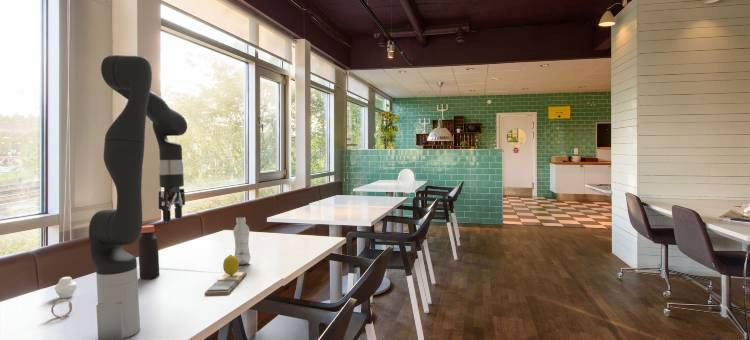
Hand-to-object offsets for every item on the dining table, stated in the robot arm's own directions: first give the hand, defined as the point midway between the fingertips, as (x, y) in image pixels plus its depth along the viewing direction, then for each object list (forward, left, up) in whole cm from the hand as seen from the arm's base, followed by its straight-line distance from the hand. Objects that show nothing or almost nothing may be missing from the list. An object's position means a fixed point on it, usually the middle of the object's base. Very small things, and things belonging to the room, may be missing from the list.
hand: (172, 219), depth 144 cm
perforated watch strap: (-20, +25, -25) cm, 41 cm away
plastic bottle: (+32, -14, -25) cm, 43 cm away
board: (+5, -16, -25) cm, 30 cm away
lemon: (+10, -16, -24) cm, 30 cm away
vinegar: (+18, +18, -25) cm, 36 cm away
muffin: (-2, +36, -25) cm, 44 cm away
